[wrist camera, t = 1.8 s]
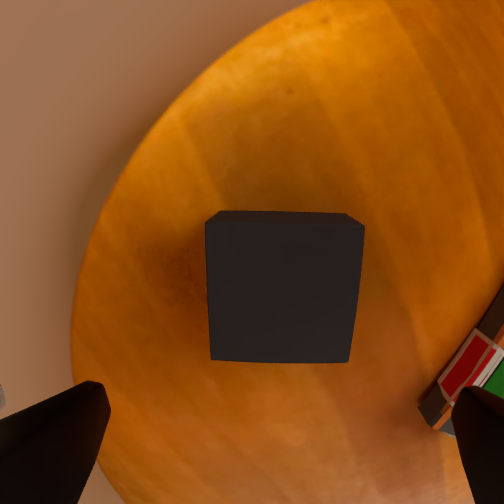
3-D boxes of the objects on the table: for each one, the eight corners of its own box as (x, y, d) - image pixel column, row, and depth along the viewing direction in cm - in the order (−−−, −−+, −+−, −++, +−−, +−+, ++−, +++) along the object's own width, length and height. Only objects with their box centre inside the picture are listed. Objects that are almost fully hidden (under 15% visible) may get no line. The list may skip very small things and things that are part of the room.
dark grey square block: (222, 325, 17) (210, 360, 14) (219, 210, 16) (204, 221, 12) (336, 327, 17) (348, 363, 13) (346, 213, 15) (365, 225, 12)
